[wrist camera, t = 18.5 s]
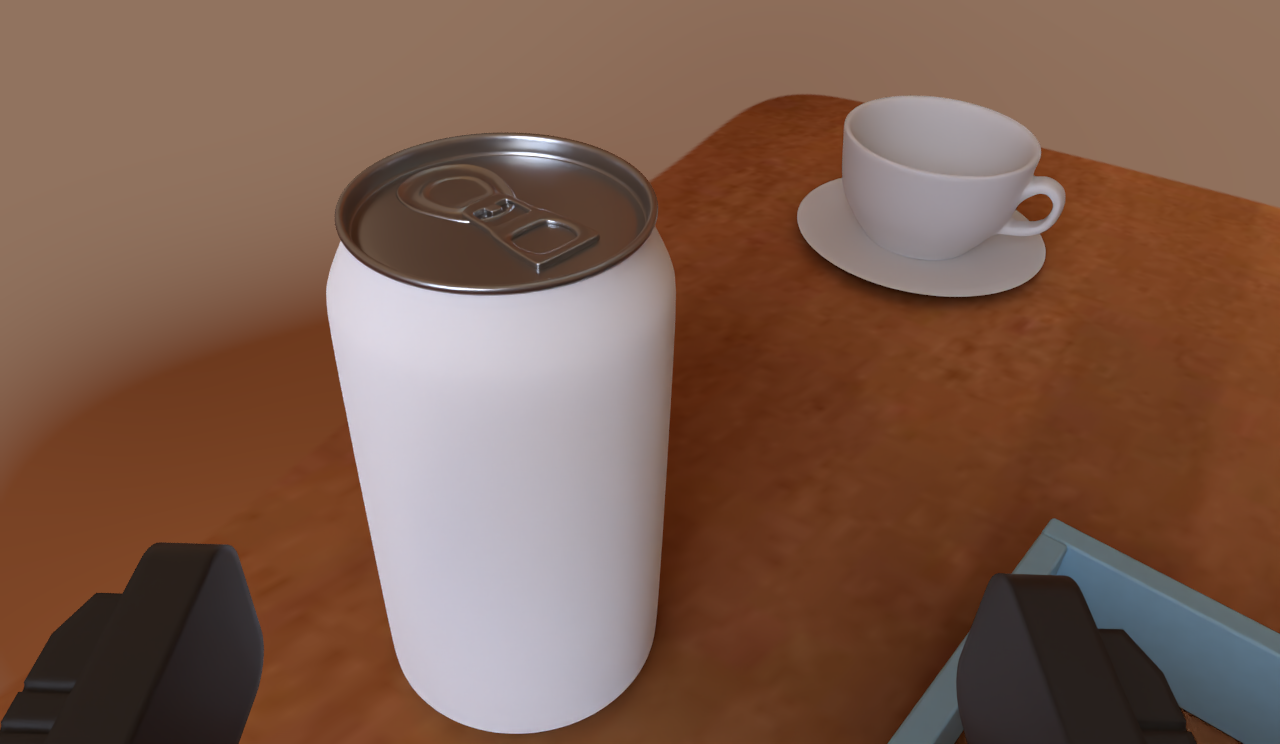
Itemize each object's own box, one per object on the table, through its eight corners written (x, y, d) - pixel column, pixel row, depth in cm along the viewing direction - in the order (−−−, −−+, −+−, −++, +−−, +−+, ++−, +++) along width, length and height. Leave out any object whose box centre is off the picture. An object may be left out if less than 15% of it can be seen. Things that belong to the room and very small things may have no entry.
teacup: (756, 256, 40) (770, 147, 37) (846, 163, 46) (864, 65, 44) (1008, 338, 36) (1047, 223, 33) (1066, 223, 43) (1101, 121, 40)
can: (535, 496, 29) (515, 95, 21) (709, 625, 25) (757, 202, 18) (341, 629, 25) (233, 198, 17) (515, 803, 21) (474, 358, 14)
